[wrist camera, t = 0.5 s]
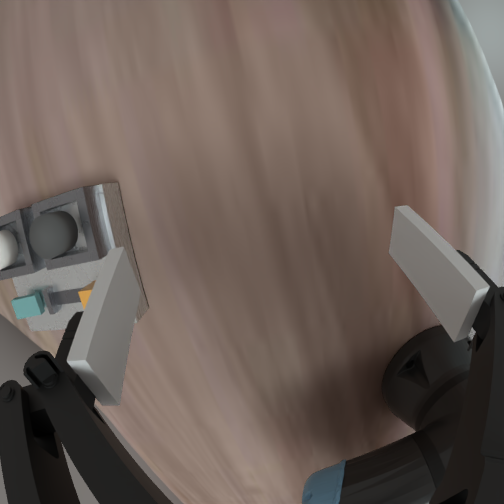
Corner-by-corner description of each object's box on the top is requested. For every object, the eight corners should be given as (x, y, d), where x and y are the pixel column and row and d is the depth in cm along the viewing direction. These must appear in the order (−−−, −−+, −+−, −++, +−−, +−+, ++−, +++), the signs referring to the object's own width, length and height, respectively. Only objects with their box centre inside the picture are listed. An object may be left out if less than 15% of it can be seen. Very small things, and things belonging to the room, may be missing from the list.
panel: (148, 308, 36) (127, 335, 29) (46, 319, 37) (18, 341, 30) (117, 182, 33) (87, 185, 26) (16, 215, 34) (-18, 224, 27)
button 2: (82, 247, 27) (66, 255, 24) (52, 254, 27) (35, 262, 24) (73, 206, 26) (55, 210, 23) (43, 215, 26) (25, 220, 23)
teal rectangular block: (45, 311, 32) (41, 314, 31) (21, 315, 31) (17, 319, 30) (38, 292, 31) (34, 295, 30) (15, 297, 31) (10, 300, 29)
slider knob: (125, 303, 31) (111, 317, 28) (102, 306, 31) (87, 319, 28) (117, 276, 30) (102, 288, 27) (94, 280, 31) (78, 291, 27)
